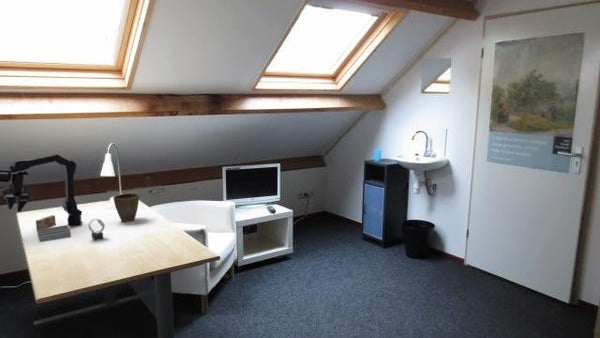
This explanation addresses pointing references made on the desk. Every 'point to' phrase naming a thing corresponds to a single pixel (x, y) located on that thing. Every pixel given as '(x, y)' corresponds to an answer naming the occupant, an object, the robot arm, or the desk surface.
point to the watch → (97, 234)
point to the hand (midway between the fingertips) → (14, 210)
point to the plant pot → (126, 206)
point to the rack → (54, 233)
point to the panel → (45, 222)
